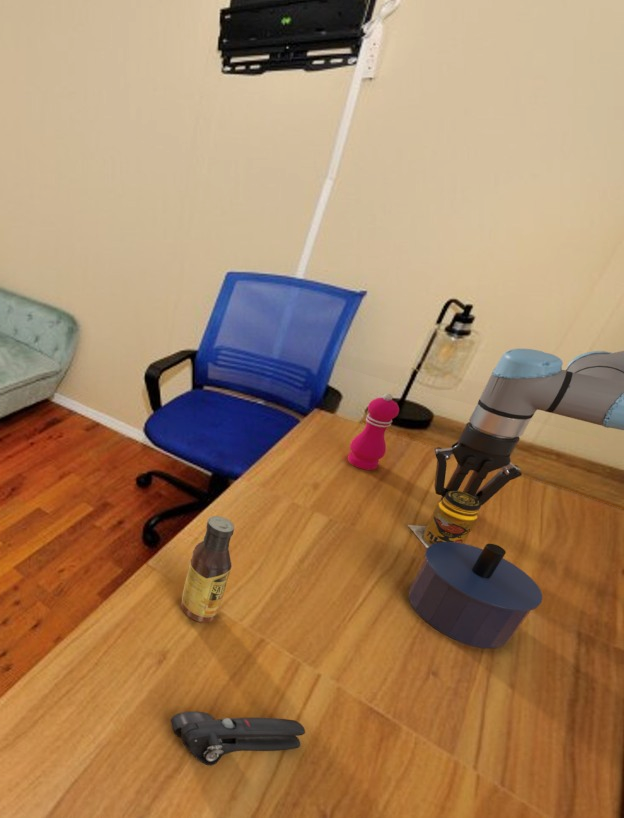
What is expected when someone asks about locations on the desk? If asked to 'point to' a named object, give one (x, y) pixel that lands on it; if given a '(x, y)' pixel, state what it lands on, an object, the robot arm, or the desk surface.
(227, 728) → the can opener
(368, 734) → the desk surface
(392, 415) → the pepper mill
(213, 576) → the sauce bottle
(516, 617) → the pot
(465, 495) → the condiment
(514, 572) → the pot lid
